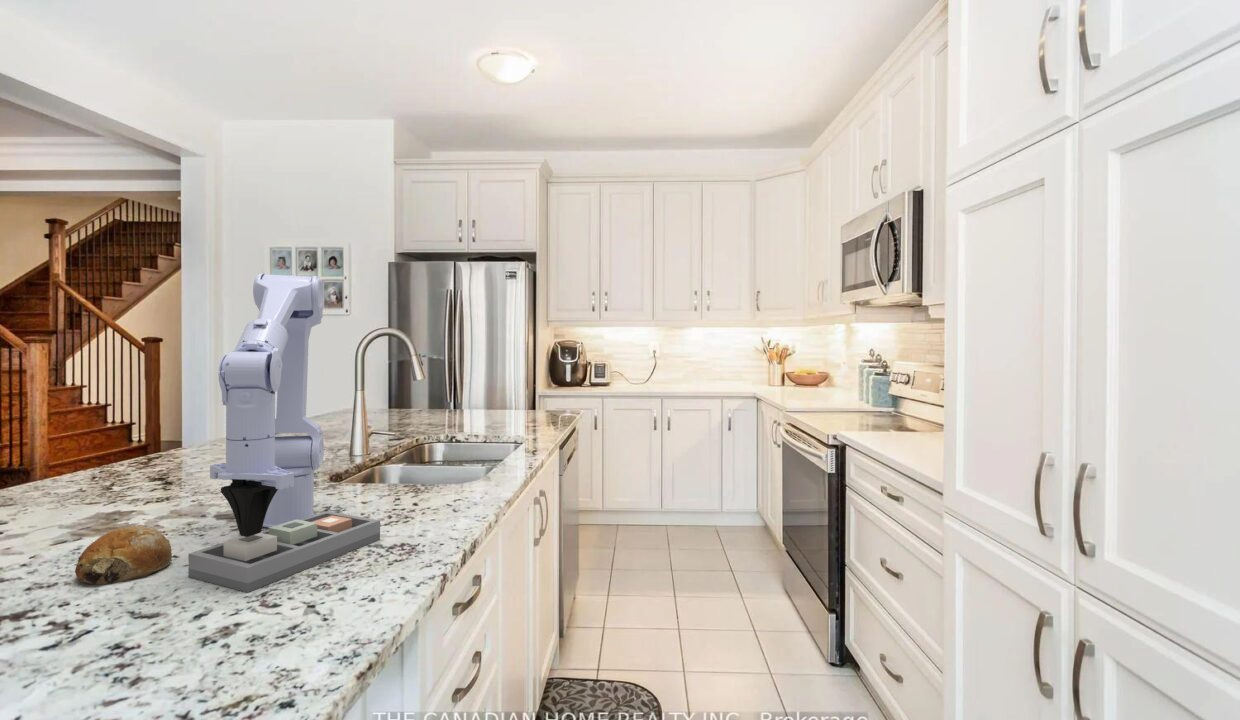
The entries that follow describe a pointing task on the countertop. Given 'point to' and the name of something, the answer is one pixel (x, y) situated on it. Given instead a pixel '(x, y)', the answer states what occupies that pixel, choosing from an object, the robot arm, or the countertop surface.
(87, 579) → the bread roll
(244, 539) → the key offwhite
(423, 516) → the countertop surface
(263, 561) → the grey compartment tray
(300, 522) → the key sage
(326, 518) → the key terracotta
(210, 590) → the countertop surface
